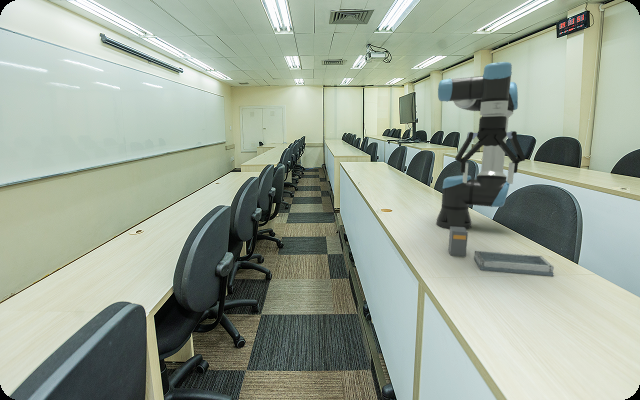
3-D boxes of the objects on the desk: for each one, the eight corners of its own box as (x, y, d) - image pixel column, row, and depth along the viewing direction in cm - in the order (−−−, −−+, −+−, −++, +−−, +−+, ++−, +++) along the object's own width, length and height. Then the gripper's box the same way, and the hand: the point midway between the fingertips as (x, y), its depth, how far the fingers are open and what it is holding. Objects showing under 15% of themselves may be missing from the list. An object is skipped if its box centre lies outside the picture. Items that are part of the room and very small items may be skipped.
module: (448, 249, 119) (450, 226, 117) (462, 250, 117) (464, 227, 116) (450, 255, 113) (452, 231, 111) (465, 256, 112) (467, 232, 110)
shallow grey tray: (473, 258, 110) (474, 250, 110) (539, 263, 105) (540, 255, 105) (480, 270, 101) (481, 261, 100) (553, 276, 96) (554, 267, 95)
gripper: (453, 116, 99) (448, 184, 103) (543, 114, 94) (534, 185, 98) (448, 117, 106) (444, 180, 111) (532, 115, 101) (524, 181, 105)
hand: (486, 182), depth 104 cm, fingers open, 13 cm apart
